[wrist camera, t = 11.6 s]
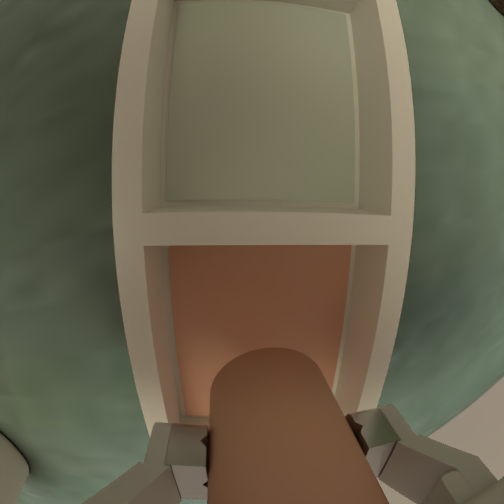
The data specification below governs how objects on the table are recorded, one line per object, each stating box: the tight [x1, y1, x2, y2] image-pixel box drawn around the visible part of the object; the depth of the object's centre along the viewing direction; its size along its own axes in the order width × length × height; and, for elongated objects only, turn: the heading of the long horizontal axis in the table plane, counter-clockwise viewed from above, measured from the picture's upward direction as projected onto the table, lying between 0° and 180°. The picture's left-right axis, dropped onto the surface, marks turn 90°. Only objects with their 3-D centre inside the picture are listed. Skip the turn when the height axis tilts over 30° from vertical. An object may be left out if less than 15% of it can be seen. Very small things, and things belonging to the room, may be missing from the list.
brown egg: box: [207, 347, 389, 504], centre depth 7 cm, size 4×4×6 cm
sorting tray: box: [112, 0, 415, 436], centre depth 11 cm, size 22×10×4 cm, turn 179°
